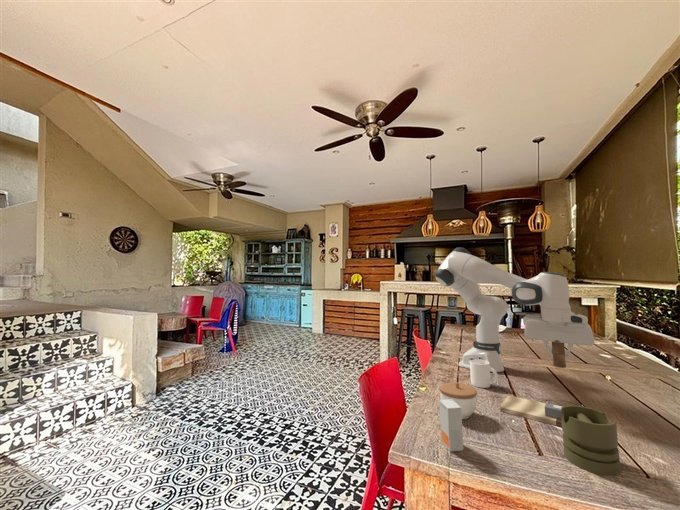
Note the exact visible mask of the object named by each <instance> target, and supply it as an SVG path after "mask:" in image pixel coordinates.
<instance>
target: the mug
mask: <svg viewBox="0 0 680 510" xmlns="http://www.w3.org/2000/svg"><path fill="white" fill-rule="evenodd" d="M490 371H492V372H490ZM469 372H470V373H469V374H470V375H469V376H470V384H471V386H472V387H475V388H479V389H486V388H487V389H488V388H491V386H492V385H495V384H497V383H498V381H499V375H498V372H496V371H495V370H494V369H493V368H491V367H490V363H489V362H488V361H484V360H477V359H475V360H470V369H469ZM491 373H493V375H494V380H492V379H491Z"/></svg>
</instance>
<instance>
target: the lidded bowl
mask: <svg viewBox="0 0 680 510" xmlns="http://www.w3.org/2000/svg"><path fill="white" fill-rule="evenodd" d="M438 389H439V396H440V399H439V400H447V399H452V400H453V401H454V402H456V403H457V404H458V405H459V406H460V407H461V413H462V420H466V419H469V418H470V417H471V416H472V414H473V413H474V412H475V411H476V408H477V396H478V395H477V394H478V392H477V390H476V387H474V386H473V385H469V384H466V383H460V382H454V381H453V382H449V381H447V382H444V383H441V384H439V387H438Z"/></svg>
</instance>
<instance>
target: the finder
mask: <svg viewBox="0 0 680 510" xmlns="http://www.w3.org/2000/svg"><path fill="white" fill-rule="evenodd" d="M561 407H563V405H562V406H561V405H557V404H553V403H549V402H546V405H545V416H548V417H552V418H556V419H559V420H561Z"/></svg>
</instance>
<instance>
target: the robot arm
mask: <svg viewBox="0 0 680 510" xmlns="http://www.w3.org/2000/svg"><path fill="white" fill-rule="evenodd" d="M434 278H435V280H436V282H437V283H439V284H440V285H442V286H444V287H450V288H452V289H453V290H454V291H455V292H456V293H457V294H458V295H459V296H460V297H461V298H462V299H463V301H464V302H465V305H466V308H467V310H469V311H470V312H472V313H473V314H475V315H479V316H480V320H479V323H478V324H477V325H476V326H475V334H476V336H475V337H476V339H474V340H473V341H472V347H471V348H469V349H468V350H467V351H465V352H464V353H463V355H462V360H460V361H459V362H458V367H462V368H466V369H469V370H470V360H475V359H477V360H484V361H488V362H489V363H490V367H491V368H493V369H494V370H495V371H496V372H497V373H501V372H504V371H505V368H504V364H503V360H502V355H501V352H502V346H501V341H500V324H501V321H502V319H503V317H504V316H505V315H506V314H507V313H508V308H509V307H508V303H507V301H505V299H502V298H501V297H498V296H491V295H487V294H485V293H484V294H483V293H482V292H481V290H480V288H481V287H480V284H496V285H501V286H504V287H506V288H509V289H511V297H512V299H513V300H514V301H515V302H516V303H517V304H519V305H522V306H536V305H539V306H540V314H530V313H529V314H527V315H525V316H523V317H522V323H523V324H524V337H525V338H526V339H527V340H535V341H542V343H543V346H544V347H545V348H546V351H547V354H548V355H549V354H550V355H553V352H552V347H550V346H549V342H551V343H552V342H554V341H555V340H559V341H560V342H561V343H564V344H567V347H569V348H568V349H565V357H571V351H572V349H574V345H579V346H581V345H582V346H587V347H588V346H593V345H595V336H594V331H593V330H592V327H591V325H590V324H589V323H588V321H589V320H588V317H587V316H586V315H583V314H580V313H576V312H573V311H572V309H571V305H570V301H569V300H570V296H571V295H570V286H569V282H568V279H567V276H565V275H564V274H563V273H559V272H553V271H541V272H540V273H538V275H535V276H533V277H531V278H529V279H528V278H525V277H523V276H520V275H516V274H514V273H512V272H509V271H506V270H504V269H502V268H500V267H499V266H496V265H494V264H491V263H490V262H488V261H486V260H484V259H483V258H480V257H478V256H475V255H472V253H471V252H470V251H469V250H468V249H466V248H464V247H459V246H458V247H456V248H454V249H453V250H452V251H451V252H450V253H449V254H448V255H447V256H446V257H444V259H443V261H442V262H441V263H440V265H439V267H438V268H437V269H436V270H435V272H434ZM479 283H480V284H479ZM490 373H493V372H492V371H490Z"/></svg>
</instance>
